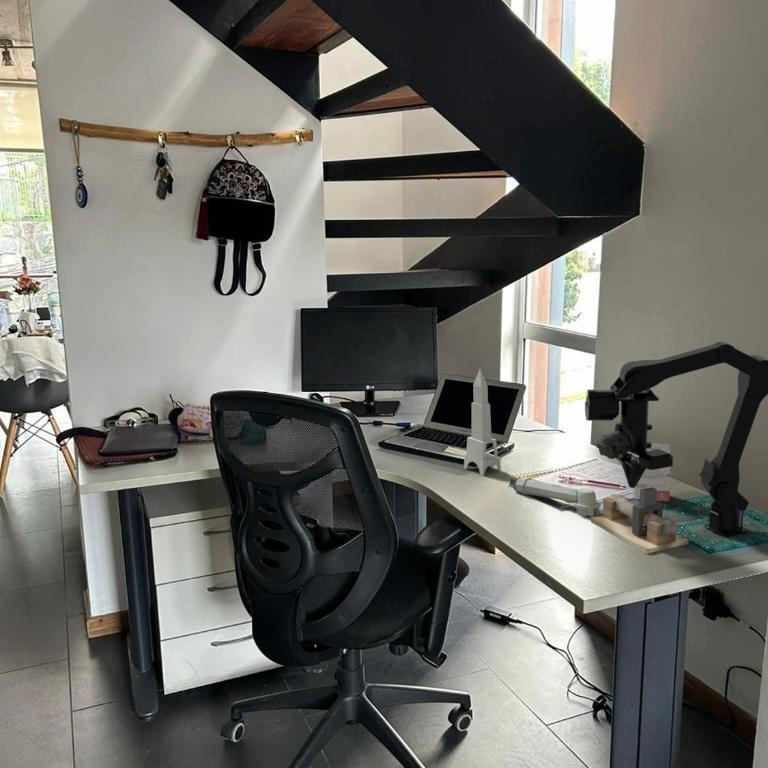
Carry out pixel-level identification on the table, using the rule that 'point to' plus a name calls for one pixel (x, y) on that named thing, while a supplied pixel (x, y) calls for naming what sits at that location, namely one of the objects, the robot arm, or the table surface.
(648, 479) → the ink cartridge box
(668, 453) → the robot arm
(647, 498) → the collar
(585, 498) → the grey piece
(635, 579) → the table surface
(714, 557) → the table surface
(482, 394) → the sculpture
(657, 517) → the pipe stand
